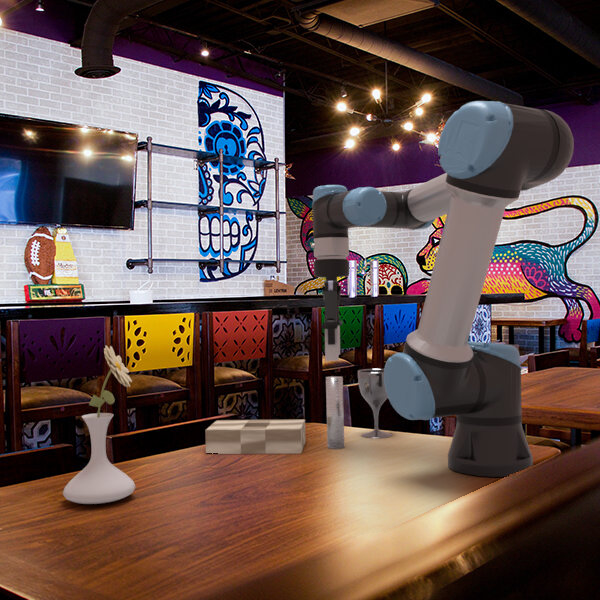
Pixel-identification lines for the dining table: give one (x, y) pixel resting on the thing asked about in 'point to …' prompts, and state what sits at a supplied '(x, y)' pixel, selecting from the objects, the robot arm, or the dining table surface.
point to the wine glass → (373, 396)
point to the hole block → (255, 436)
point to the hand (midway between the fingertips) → (333, 357)
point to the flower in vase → (101, 450)
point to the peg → (335, 412)
